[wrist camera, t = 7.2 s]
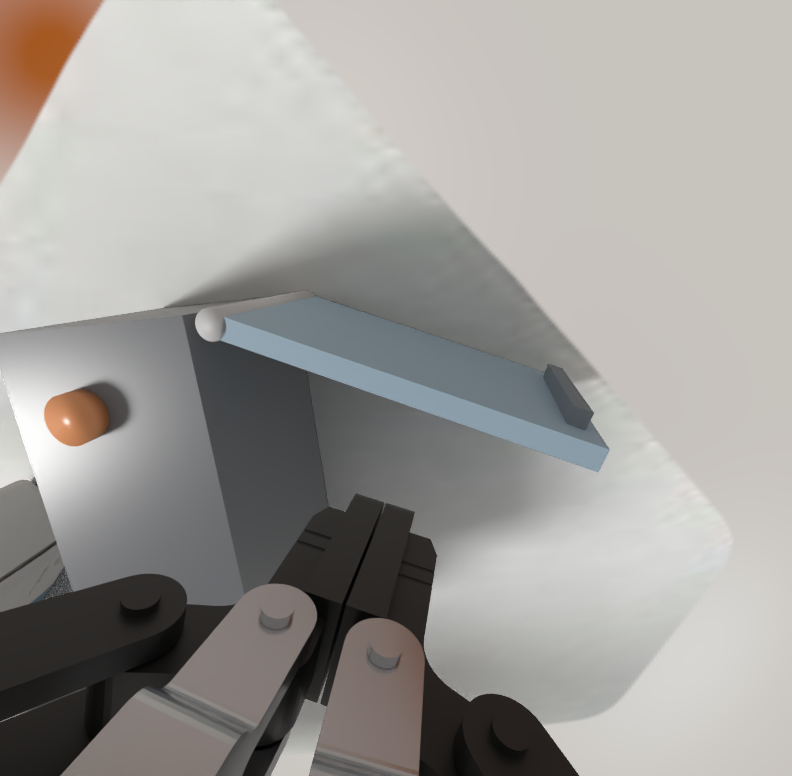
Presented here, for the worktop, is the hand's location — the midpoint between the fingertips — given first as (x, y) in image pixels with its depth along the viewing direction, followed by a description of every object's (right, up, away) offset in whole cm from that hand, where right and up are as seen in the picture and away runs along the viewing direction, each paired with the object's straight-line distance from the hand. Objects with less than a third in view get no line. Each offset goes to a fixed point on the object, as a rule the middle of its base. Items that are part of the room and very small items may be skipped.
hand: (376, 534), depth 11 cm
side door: (+2, +7, +17) cm, 19 cm away
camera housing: (-10, -2, +23) cm, 25 cm away
